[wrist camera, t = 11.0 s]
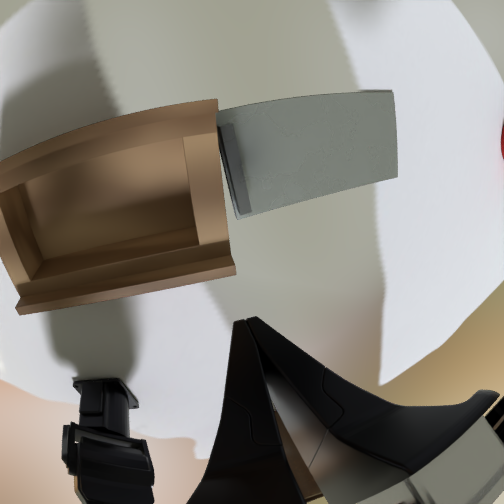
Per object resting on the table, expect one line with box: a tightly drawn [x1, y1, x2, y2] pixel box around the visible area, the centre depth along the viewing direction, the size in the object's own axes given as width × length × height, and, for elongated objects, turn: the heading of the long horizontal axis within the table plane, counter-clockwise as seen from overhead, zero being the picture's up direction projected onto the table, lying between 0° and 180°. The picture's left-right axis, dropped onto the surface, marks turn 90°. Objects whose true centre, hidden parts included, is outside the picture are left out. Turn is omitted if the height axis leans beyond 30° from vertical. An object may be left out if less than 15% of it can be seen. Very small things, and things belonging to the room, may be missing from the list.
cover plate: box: [215, 92, 398, 220], centre depth 18 cm, size 8×15×2 cm, turn 101°
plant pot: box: [274, 412, 324, 503], centre depth 32 cm, size 15×15×16 cm
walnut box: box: [0, 99, 236, 315], centre depth 14 cm, size 10×16×5 cm, turn 94°
